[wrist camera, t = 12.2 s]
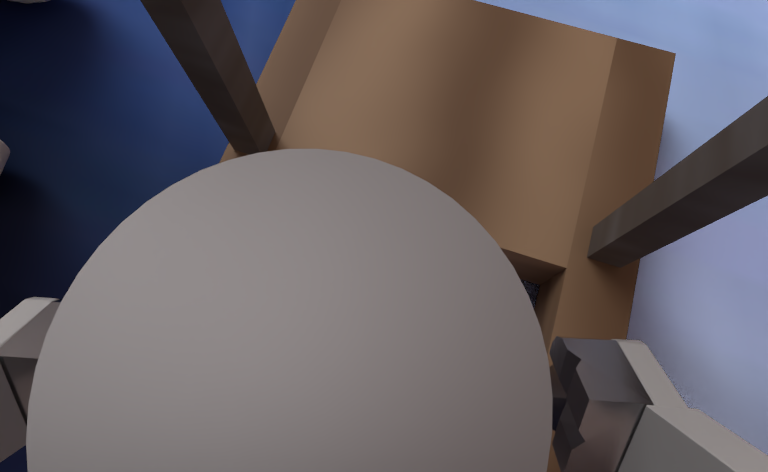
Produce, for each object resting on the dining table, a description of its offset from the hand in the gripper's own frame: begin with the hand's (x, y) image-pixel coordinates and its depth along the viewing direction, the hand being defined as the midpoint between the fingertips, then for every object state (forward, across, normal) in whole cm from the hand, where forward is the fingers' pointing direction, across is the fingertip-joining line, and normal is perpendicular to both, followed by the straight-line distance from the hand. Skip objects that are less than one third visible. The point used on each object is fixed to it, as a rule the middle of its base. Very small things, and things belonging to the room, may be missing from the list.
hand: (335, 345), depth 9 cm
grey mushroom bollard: (+4, 0, +5) cm, 7 cm away
